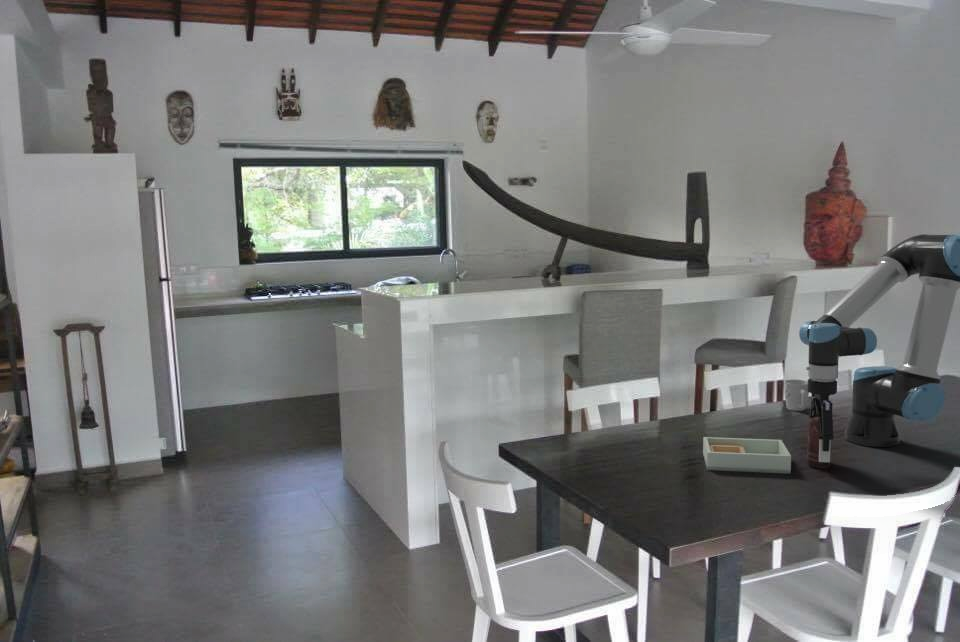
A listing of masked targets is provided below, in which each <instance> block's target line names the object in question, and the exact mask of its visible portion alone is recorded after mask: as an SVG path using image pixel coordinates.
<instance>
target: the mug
mask: <svg viewBox="0 0 960 642" xmlns="http://www.w3.org/2000/svg"><path fill="white" fill-rule="evenodd" d="M783 385H784V398H785V399H784V400H785V405H786V409H787V410H790V411H795V412H802V411H803V412H804V411H805V410H806V408H807V404H808V400H809V395H810V393H809V392H808V390H807V386H808V380H803V379H787V380H786V379H785V380H784V384H783Z"/></svg>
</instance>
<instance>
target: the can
mask: <svg viewBox="0 0 960 642" xmlns="http://www.w3.org/2000/svg"><path fill="white" fill-rule="evenodd" d="M807 422H808V423H807V424H808V425H807V426H808V427H807V445H806V446H807V450H806V452H807V453H806V463H807V466H809V467H811V468H813V469H817V470H821V469H823V470H825V469H828V468H830V467H831V465H832V464H831V462H832V449H831V450H830V462H819V443H820V439H818V437H819V436H820V437H821V433H820V422H819V416H817V415H815V416H810V418H809V417H808V420H807ZM826 435H828V434H826ZM832 440H833V439H831V443H832Z"/></svg>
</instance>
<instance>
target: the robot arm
mask: <svg viewBox="0 0 960 642" xmlns="http://www.w3.org/2000/svg"><path fill="white" fill-rule="evenodd" d="M914 275H918V279H919V281H920V282H921V283H922V287H921V291H920V294H919V300H918V304H917V308H916V311H915V315H914V320H913V324H912V327H911V331H910V336H909V339H908V344H907V347H906V351H905V354H904V360H903V363H902V364H901V365H899V366H898V367H893V366H867V367H866V366H865V367H858V368H856V370H855V371H854V373H853V380H852V402H851V403H852V408H851V409H852V410H851V415H850V418H849V420H848V422H847V425H846V428H845V431H844V439H845V440H846V441H848V442H850V443H852V444H857V445H860V446H861V445H862V446H866V447H876V448H890V447H897V446H898V445H899V444H900V439H901V437H900V432H899V429H898V426H897V422H896V419H895V416H897V417H898V416H899V417H902V418H905V419H906V420H910V421H917V422H922V423H924V422H928V421H931V420H933V419H934V418H935V417H937V416H938V415H939V414H941V413H942V411H943V409H944V408H945V405H946V402H947V395H946V390H945V389H944V387H943V386H941V381H942V380H941V379H942V378H941V376H940V375H939V373H938V372H937V371H938V366H939V362H940V359H941V355H942V351H943V348H944V347H943V346H944V343H945V339H946V335H947V331H948V327H949V324H950V320H951V317H952V316H951V315H952V311H953V307H954V304H955V300H956V295H957V292H958V291H959V289H960V234H959V235H958V234H917V235H913V236H911V237H909V238H907V239H905V240H903V241H901V242H899V243H898V244H896V245H894V246H893V247H892V248H891V249H889V250H888V251H886V253H884V254H883V255H882V256H881V257H880V258H879V259H878V260H877V265H876V266H875V267H874V268H873V269H872V270H870V271H869V272H868V273H867V274H866V275H865V276H864V277H863V278H862V279H861V280H860V281H858V283H856V284H855V285H854V286H853V287H852V288H851V289H850V290H849V291H848V292H847V293H846V294H844V296H842V298H840V299H839V300H838V301H837V302H836V303H835V304H834V305H833V306H832V307H831V308H829V309H828V310H827V311H826V312H825V313H824V314H823V315H821V317H819V318H818V319H817V320H808V321H806V322H804V323H803V324H802V325H801V326H800V328H799V331H798V336H799V339H800V341H801V342H802V343H803V344H804V345H806V346H808V366H806V367H805V370H806V371H808V372H807V376H808V377H809V378H808V379H807V381H808V386H807V390H808V392H809V394H811V398H810V399H811V400H810V408H809V416H808V419H809V418H810V416H815V415H817V416H819V422H820V433H821V437H820V436H819V437H818V439H820V443H819V462H830V450H831V451H832V442H831V439H832V440H834V419H833V402H831V401H832V400H830V397H829V396H833V395H836V394H837V392H838V381H837V379H838V378H839V358H840V357H849V356H852V357H853V356H863V355H868V354H872V353H873V352H874V351H875V350H876V348H877V345H878V338H877V335H876V333H875V331H874V330H873V329H871V328H868V327H861V326H860V327H851V326H852V325H853V324H855V323H856V321H858V320H859V319H860V317H862V316H863V315H864V314H865V313H866V312H867V311H868V310H869V309H871V308H872V307H873V306H874V305H875V304H876V303H877V302H878V301H880V299H882V297H883V296H885V294H887V293H888V292H889V291H890V290H891V289H893V287H894V286H895V285H897V284H898V283H903V282H905V281H907V279H908V278H910V277H911V276H912V277H913V276H914ZM826 434H828V435H826Z"/></svg>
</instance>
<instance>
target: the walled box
mask: <svg viewBox="0 0 960 642" xmlns="http://www.w3.org/2000/svg"><path fill="white" fill-rule="evenodd" d="M702 439H703V440H702V454H703V458H704V463H705V466H706V470H707V471H724V472H742V473H743V472H744V473H745V472H746V473H767V474H789V475H790V474H791V471H792V470H791V469H792V455H791V453H790V452H789V450H788V449H787V447H786V445H785V444H784V441H783V440H782V439H768V438H767V439H766V438H741V437H740V438H739V437H708V436H702Z"/></svg>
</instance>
